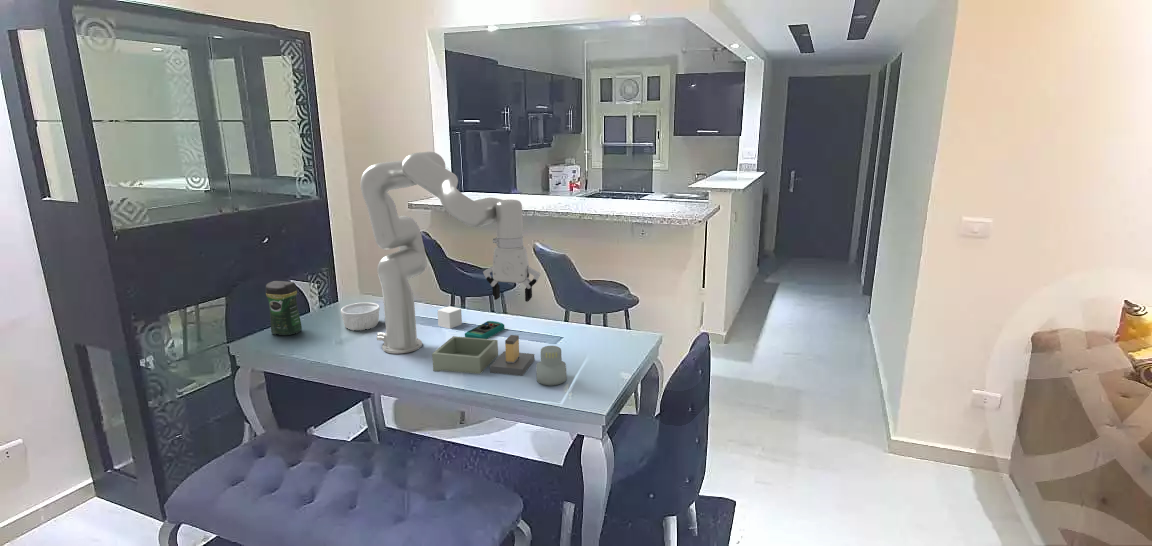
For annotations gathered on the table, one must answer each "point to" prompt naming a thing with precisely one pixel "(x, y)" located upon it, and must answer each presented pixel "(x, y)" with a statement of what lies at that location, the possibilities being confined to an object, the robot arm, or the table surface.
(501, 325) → the digital multimeter
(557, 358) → the air freshener
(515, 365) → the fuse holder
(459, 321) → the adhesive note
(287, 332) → the coffee jar
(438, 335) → the table surface
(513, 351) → the block
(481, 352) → the parts tray
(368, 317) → the ramekin
